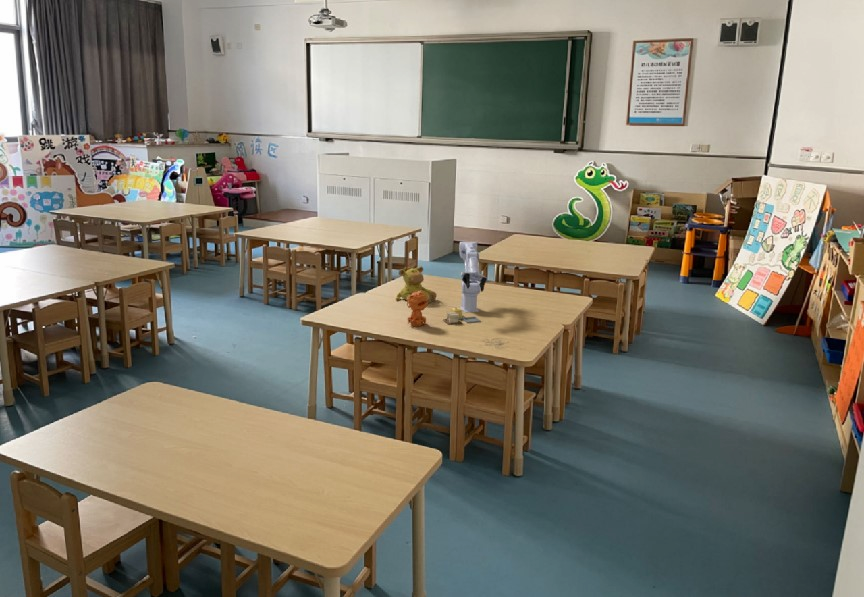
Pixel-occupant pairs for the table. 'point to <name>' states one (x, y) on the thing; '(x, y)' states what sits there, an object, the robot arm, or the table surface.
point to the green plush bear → (414, 284)
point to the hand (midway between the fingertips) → (475, 288)
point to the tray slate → (471, 319)
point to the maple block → (452, 317)
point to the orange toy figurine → (417, 308)
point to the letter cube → (457, 311)
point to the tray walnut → (452, 323)
